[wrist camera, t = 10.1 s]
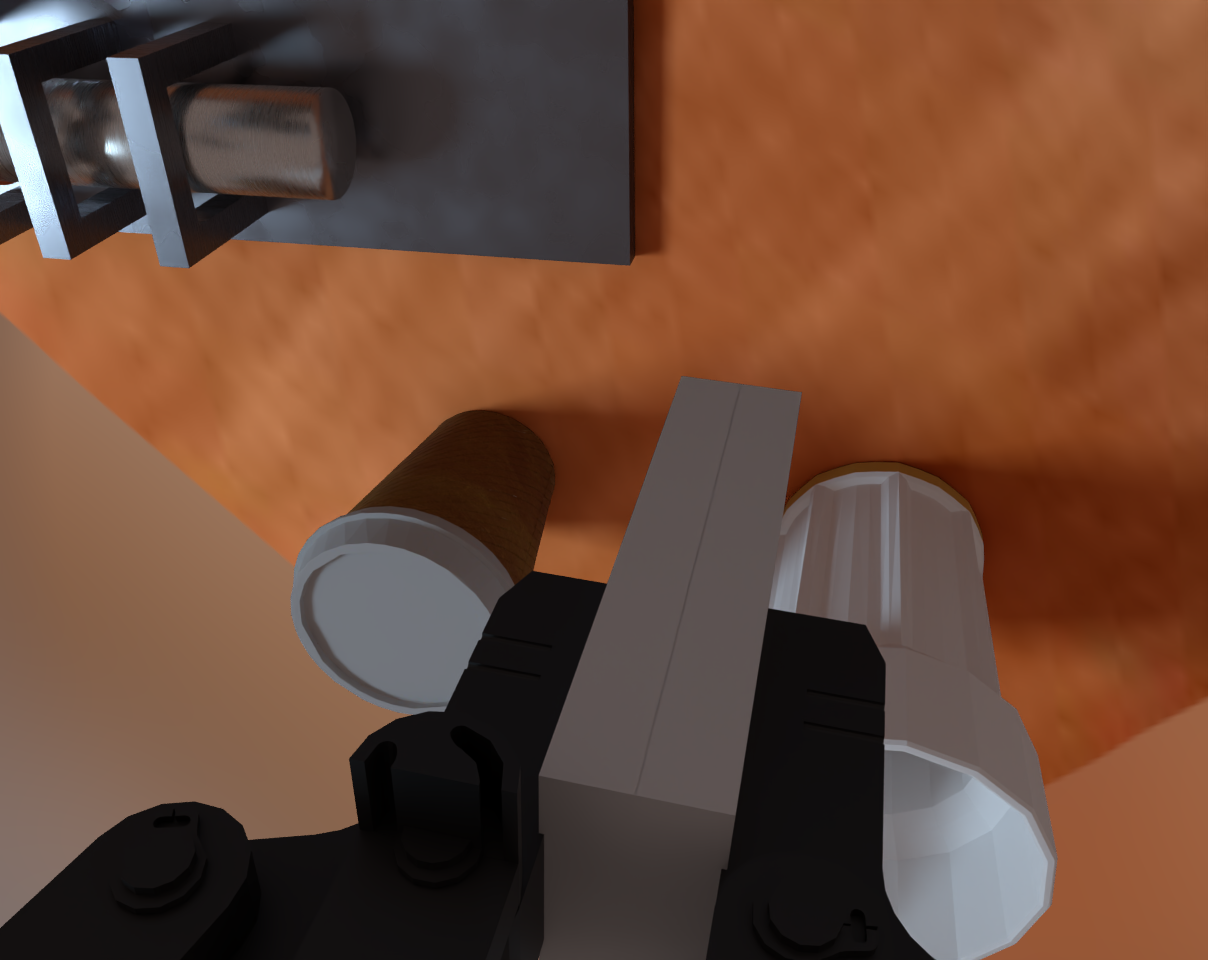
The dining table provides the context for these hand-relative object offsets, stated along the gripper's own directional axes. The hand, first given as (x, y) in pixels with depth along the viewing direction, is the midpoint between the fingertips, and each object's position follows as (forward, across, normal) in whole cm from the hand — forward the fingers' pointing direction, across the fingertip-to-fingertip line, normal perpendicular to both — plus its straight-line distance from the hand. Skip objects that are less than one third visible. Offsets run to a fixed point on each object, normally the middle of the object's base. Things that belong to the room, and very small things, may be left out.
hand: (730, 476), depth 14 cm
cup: (+29, +5, -22) cm, 36 cm away
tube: (+27, -26, -5) cm, 38 cm away
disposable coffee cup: (+29, -13, -20) cm, 38 cm away
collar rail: (+29, -22, -5) cm, 36 cm away
